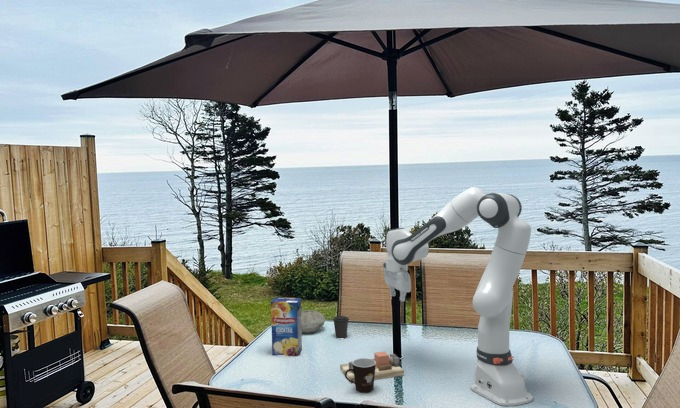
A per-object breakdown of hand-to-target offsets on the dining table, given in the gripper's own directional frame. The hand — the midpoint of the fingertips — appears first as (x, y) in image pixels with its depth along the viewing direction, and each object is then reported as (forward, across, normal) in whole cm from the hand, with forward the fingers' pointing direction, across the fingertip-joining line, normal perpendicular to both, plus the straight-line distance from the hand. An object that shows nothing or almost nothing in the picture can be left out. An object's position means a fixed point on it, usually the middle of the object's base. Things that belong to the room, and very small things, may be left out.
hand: (397, 298), depth 205 cm
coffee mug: (+27, -21, +25) cm, 42 cm away
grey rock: (+27, +53, +27) cm, 65 cm away
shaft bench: (+27, -8, +16) cm, 32 cm away
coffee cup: (+27, +37, +14) cm, 47 cm away
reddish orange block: (+25, -8, +11) cm, 28 cm away
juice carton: (+27, +25, +43) cm, 57 cm away
